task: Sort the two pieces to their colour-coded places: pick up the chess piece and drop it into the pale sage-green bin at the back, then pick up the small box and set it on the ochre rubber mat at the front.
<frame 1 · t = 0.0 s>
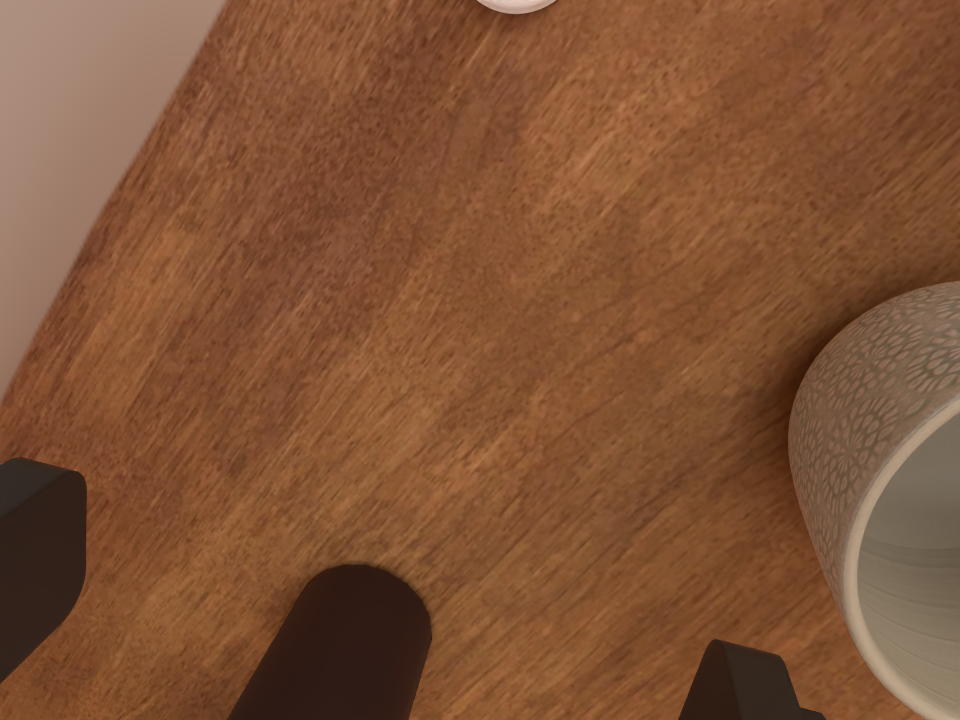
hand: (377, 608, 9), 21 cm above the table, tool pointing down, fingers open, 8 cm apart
bottle: (366, 617, 36), on the table
planter: (919, 402, 29), on the table
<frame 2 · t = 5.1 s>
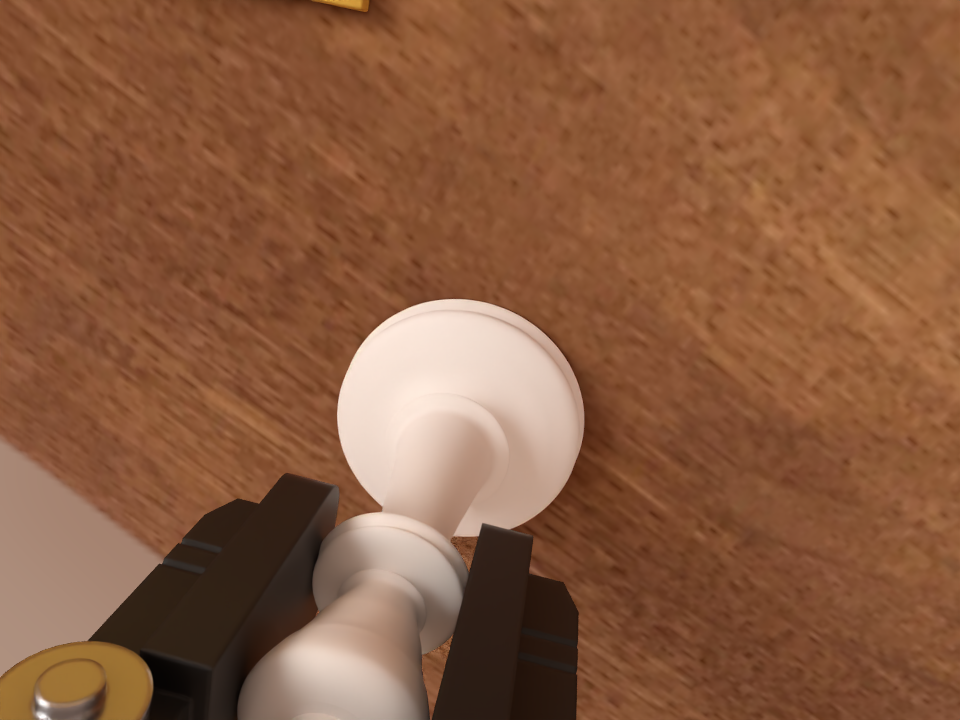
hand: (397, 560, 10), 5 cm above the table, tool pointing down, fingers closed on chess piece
chess piece: (462, 412, 15), on the table, touching gripper
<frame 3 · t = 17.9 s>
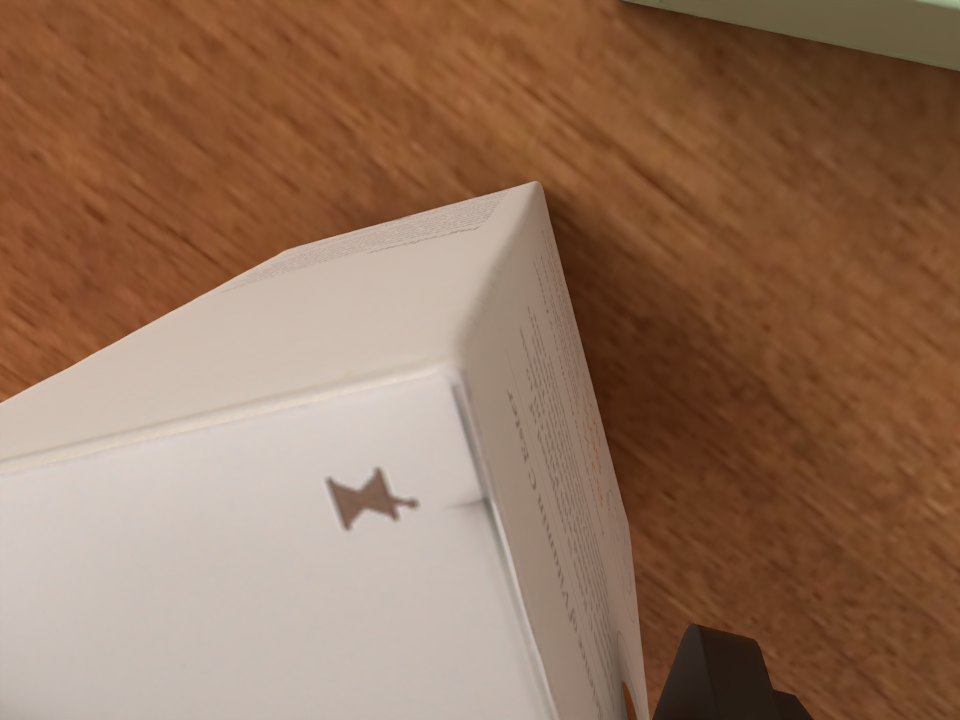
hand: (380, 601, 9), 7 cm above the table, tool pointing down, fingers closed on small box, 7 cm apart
small box: (467, 388, 16), on the table, touching gripper
when the fingers open (8 cm above the table, at t = 25.0 s): small box stays where it is, resting on ochre mat.
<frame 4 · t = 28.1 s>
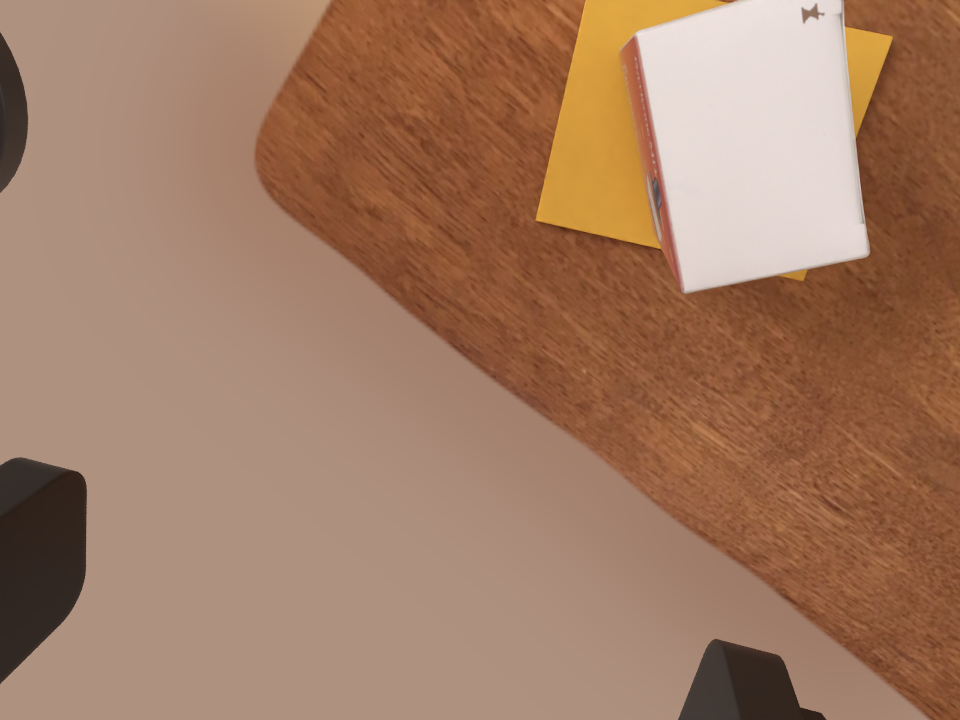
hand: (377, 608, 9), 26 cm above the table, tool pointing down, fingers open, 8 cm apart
ochre mat: (700, 134, 31), on the table
small box: (701, 130, 31), resting on ochre mat
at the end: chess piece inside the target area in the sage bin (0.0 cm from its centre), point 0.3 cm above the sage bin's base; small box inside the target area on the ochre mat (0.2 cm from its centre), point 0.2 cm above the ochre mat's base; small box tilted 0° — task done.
